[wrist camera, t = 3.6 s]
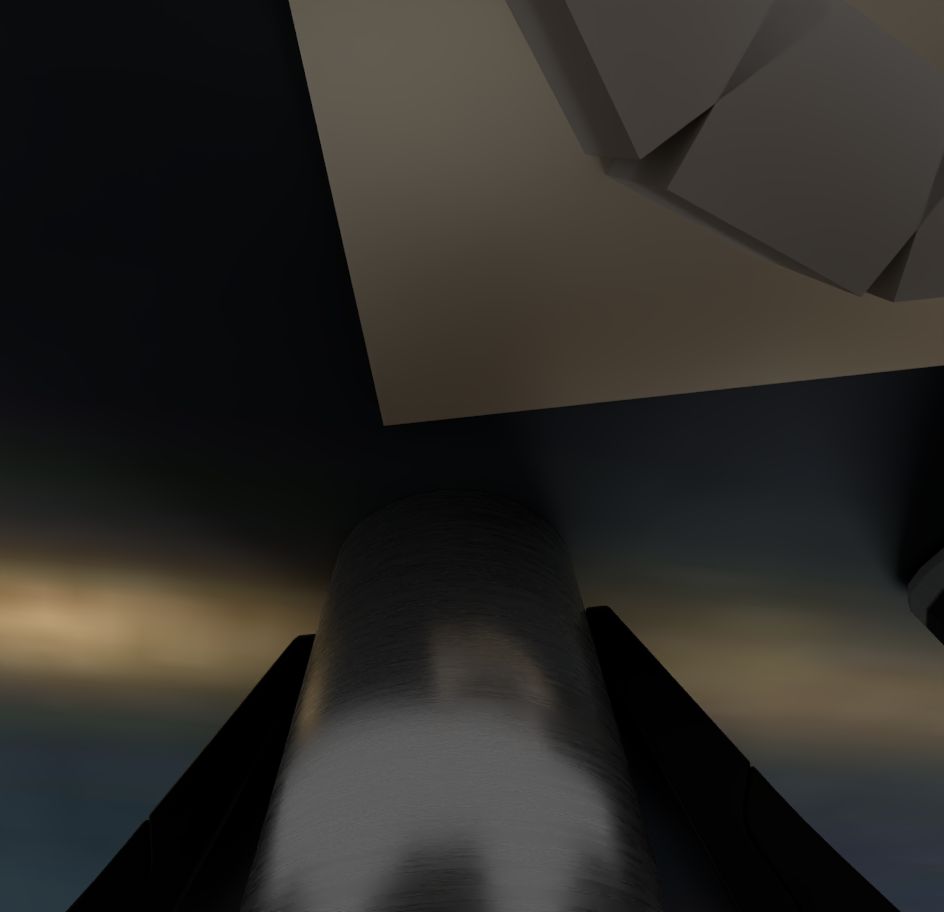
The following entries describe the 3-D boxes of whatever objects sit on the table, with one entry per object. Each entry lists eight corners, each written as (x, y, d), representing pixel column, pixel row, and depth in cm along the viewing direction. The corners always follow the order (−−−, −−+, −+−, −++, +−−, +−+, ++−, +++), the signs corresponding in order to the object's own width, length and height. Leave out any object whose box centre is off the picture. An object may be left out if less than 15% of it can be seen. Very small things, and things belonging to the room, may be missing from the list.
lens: (572, 650, 12) (694, 1173, 6) (362, 670, 12) (273, 1200, 6) (573, 476, 9) (794, 1096, 3) (305, 504, 10) (44, 1149, 3)
